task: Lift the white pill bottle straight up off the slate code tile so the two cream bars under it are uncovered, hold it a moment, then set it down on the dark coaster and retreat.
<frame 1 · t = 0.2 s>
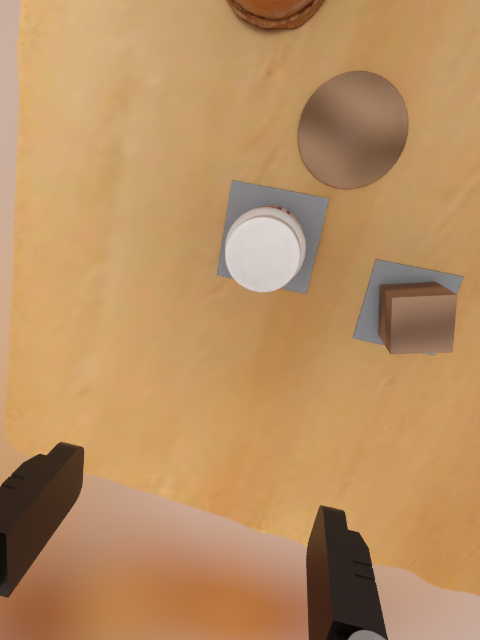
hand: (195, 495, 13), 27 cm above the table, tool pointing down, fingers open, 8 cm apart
pill bottle: (270, 238, 37), resting on code tile A
code tile B: (405, 308, 37), on the table
code tile A: (270, 238, 37), on the table
coaster: (351, 133, 33), on the table
walnut block: (406, 308, 37), resting on code tile B
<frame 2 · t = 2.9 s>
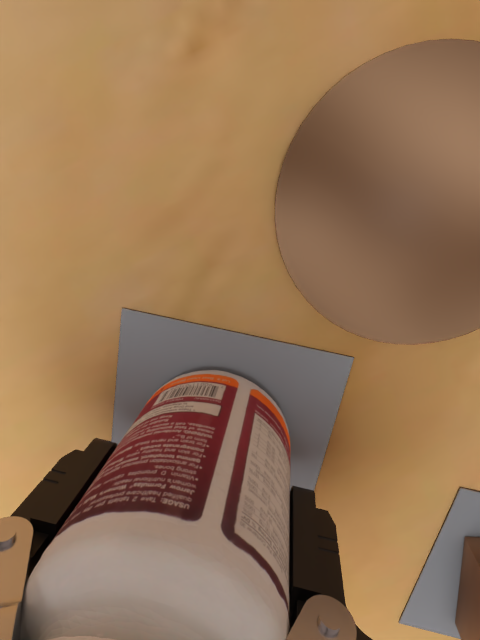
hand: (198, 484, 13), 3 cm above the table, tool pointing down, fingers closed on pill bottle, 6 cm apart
pill bottle: (217, 429, 16), resting on code tile A, touching gripper
code tile A: (217, 430, 16), on the table
coaster: (414, 208, 13), on the table
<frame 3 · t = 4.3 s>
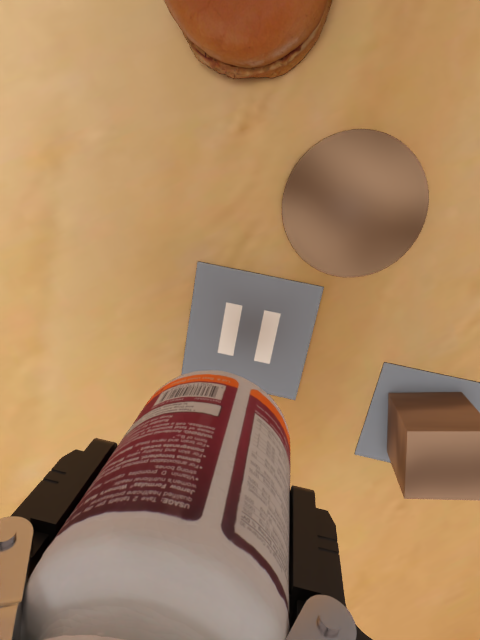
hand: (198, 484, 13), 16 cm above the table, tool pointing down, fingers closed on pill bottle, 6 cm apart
pill bottle: (218, 429, 16), point 13 cm above the table, touching gripper
code tile B: (422, 421, 29), on the table
code tile A: (248, 333, 29), on the table
coaster: (352, 207, 25), on the table
walnut block: (422, 422, 29), resting on code tile B
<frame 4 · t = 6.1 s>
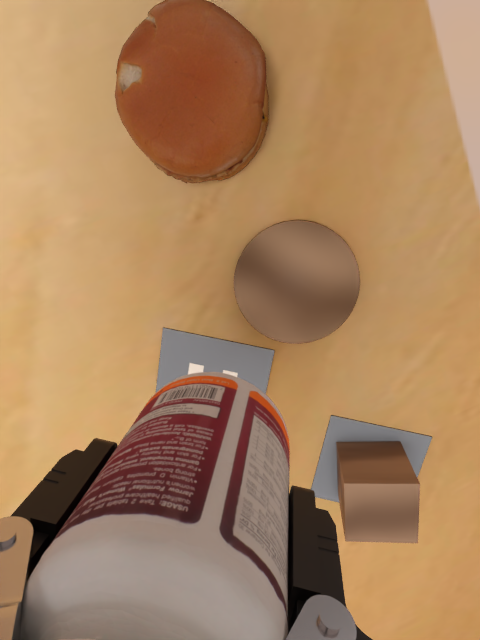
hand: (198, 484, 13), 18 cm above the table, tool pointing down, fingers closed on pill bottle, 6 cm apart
pill bottle: (217, 431, 16), point 14 cm above the table, touching gripper
code tile B: (367, 467, 32), on the table
code tile A: (210, 389, 32), on the table
burger: (200, 107, 27), on the table
coaster: (295, 283, 29), on the table
walnut block: (368, 468, 32), resting on code tile B
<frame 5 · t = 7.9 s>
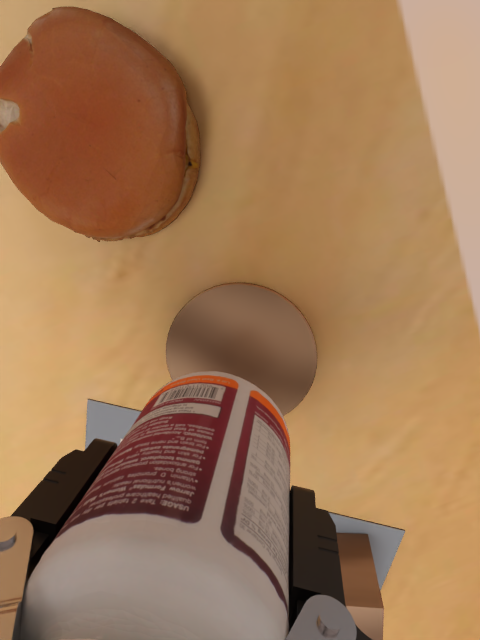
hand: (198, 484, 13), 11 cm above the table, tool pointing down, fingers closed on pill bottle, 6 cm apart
pill bottle: (217, 430, 16), point 8 cm above the table, touching gripper
code tile B: (330, 558, 28), on the table
code tile A: (146, 468, 27), on the table
burger: (118, 144, 21), on the table
coaster: (240, 355, 24), on the table
walnut block: (330, 560, 28), resting on code tile B
when the fingers open (5 cm above the table, at t = 9.6 s): pill bottle drops 1 cm, resting on coaster.
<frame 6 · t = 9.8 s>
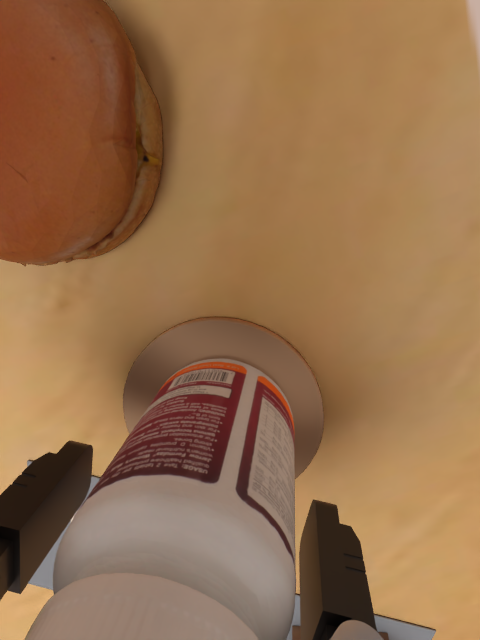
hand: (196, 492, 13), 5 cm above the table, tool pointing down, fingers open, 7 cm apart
pill bottle: (225, 415, 17), resting on coaster
code tile A: (105, 545, 21), on the table
burger: (53, 133, 15), on the table
coaster: (222, 410, 18), on the table
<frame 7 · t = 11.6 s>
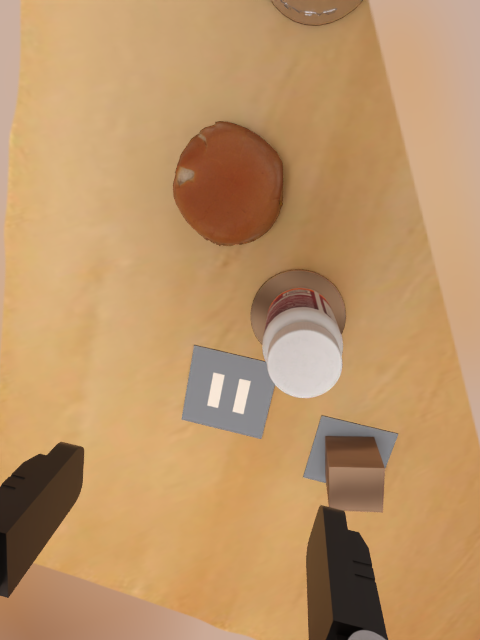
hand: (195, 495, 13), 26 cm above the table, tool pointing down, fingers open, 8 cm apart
pill bottle: (299, 316, 37), resting on coaster
code tile B: (348, 456, 42), on the table
code tile A: (228, 393, 41), on the table
burger: (232, 189, 36), on the table
coaster: (297, 315, 38), on the table
walnut block: (349, 456, 42), resting on code tile B
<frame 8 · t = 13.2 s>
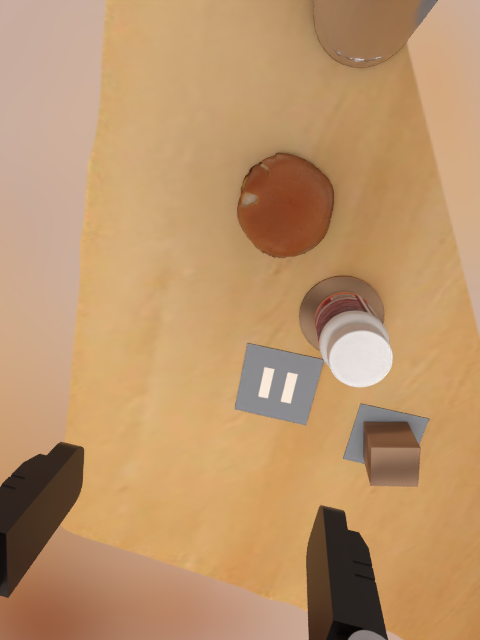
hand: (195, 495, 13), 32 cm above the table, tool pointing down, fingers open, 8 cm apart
pill bottle: (343, 317, 43), resting on coaster
code tile B: (384, 439, 47), on the table
code tile A: (277, 385, 47), on the table
burger: (284, 207, 41), on the table
coaster: (340, 316, 43), on the table
walnut block: (384, 439, 47), resting on code tile B
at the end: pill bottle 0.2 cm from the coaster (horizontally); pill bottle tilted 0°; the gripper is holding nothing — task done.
